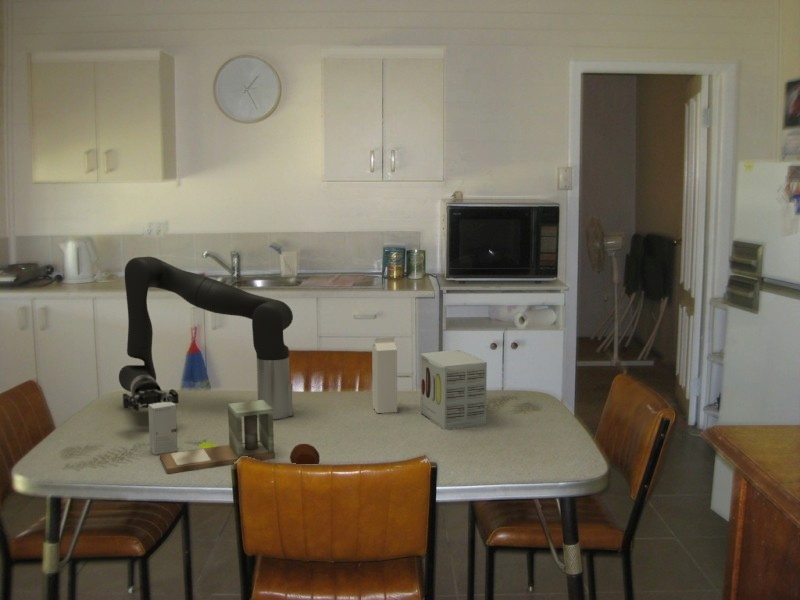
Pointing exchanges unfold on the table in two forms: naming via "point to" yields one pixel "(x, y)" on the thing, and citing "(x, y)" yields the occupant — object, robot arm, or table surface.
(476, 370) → the supplement box
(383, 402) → the milk
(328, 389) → the table surface
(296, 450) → the potato
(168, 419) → the skincare box
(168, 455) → the board
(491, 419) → the table surface
